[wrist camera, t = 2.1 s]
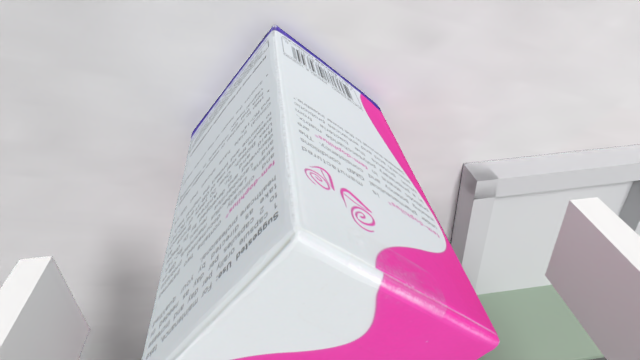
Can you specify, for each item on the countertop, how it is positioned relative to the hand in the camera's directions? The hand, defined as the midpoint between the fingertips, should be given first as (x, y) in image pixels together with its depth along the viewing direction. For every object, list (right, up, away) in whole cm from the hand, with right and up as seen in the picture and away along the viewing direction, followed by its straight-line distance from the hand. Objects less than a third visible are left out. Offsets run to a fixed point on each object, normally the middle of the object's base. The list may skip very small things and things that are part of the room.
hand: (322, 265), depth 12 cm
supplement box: (-1, +5, +7) cm, 8 cm away
